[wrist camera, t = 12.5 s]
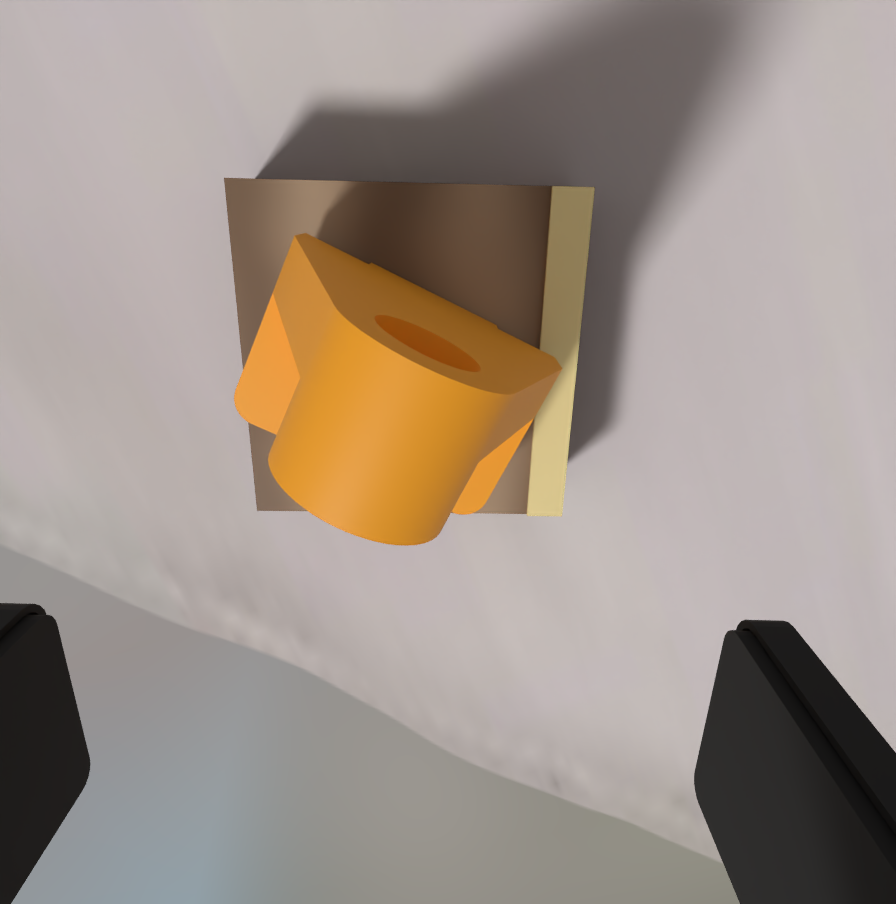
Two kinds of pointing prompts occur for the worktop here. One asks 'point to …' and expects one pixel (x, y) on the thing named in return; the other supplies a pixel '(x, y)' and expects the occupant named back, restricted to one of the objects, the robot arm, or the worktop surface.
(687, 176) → the worktop surface
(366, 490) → the bracket
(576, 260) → the dock
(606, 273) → the worktop surface
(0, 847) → the robot arm
